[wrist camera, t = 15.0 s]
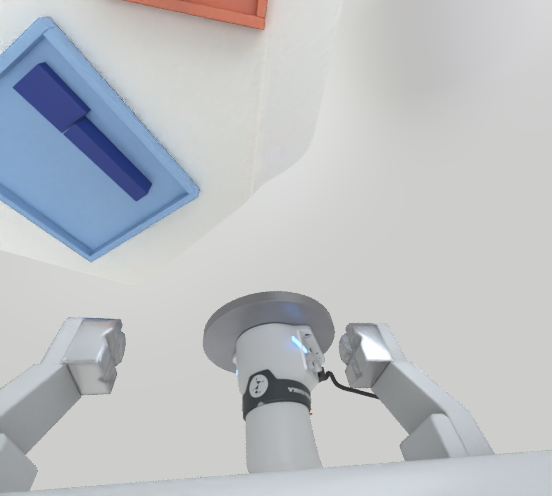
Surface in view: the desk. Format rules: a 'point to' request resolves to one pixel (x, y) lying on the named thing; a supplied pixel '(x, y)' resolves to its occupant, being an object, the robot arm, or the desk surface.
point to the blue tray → (78, 154)
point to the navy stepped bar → (79, 127)
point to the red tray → (217, 9)
